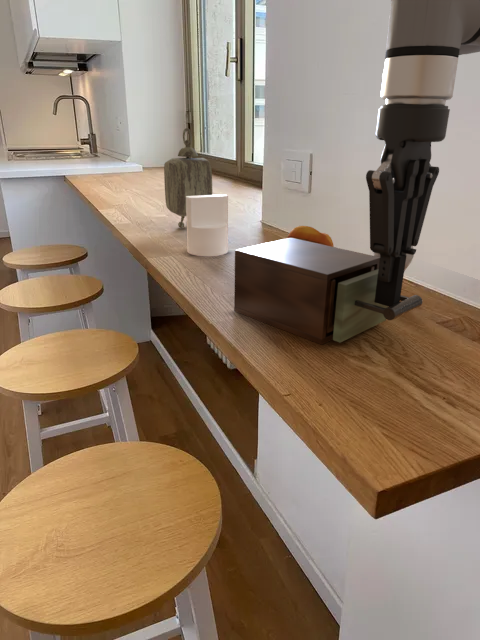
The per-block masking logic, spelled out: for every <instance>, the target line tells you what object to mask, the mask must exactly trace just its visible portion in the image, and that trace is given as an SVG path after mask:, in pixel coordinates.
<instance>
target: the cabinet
mask: <svg viewBox="0 0 480 640" xmlns="http://www.w3.org/2000/svg"><path fill="white" fill-rule="evenodd" d="M379 262H380V257H377V256H374V255H371V254H367V253H363V252H358V251H355V250H348V249H345V248H340V247H337V246H336V247H335V246H334V247H331V246H327V245H322V244H318V243H313V242H309V241H304V240H299V239H295V238H287V237H286V238H282V239H278V240H274V241H269V242H263V243H260V244H255V245H250V246H246V247H242V248H237V249H235V250H234V295H233V300H234V302H233V303H234V305H233V311H234V313H235V312H236V313H238V314H241V315H243V316H246V317H248V318H251V319H254V320H256V321H259V322H261V323H264V324H267V325H268V326H269V325H270V326H272V327H274V328H277V329H280V330H283V331H284V332H288V333H290V334H292V335H295V336H298V337H300V338H303V339H305V340H307V341H310V342H313V343H315V344H318V345H321V346H322V345H324V344H326V343H328V342H330V341H334V340H333V332H334V331H332V332H330V333H326V325H327V314H328V303H329V291H330V279H333V278H336V277H339V276H342V275H345V274H348V273H351V272H354V271H357V270H360V269H363V268H366V267H369V266H374V270H377V269H379Z"/></svg>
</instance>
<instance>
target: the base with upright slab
mask: <svg viewBox="0 0 480 640" xmlns="http://www.w3.org/2000/svg"><path fill="white" fill-rule="evenodd" d="M186 215H187V216H186V245H187V246H186V248H187V249H186V251H187V253H188V254H190V255H192V256H198V257H217V256H223V255H226V254H227V253H228V252H229V195H227V194H223V193H221V194H219V193H218V194H212V195H197V196H186Z"/></svg>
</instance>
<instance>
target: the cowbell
mask: <svg viewBox="0 0 480 640" xmlns="http://www.w3.org/2000/svg"><path fill="white" fill-rule="evenodd" d="M186 132H188V135H189V139H186V138H185V137H186ZM182 140H183V144H184V145H185V147H182V148H181V149H180V150H179V151H178V153H177V157H172V158H171V159H168V160H167V161H165V162H164V166H163V168H164V169H163V174H164V175H163V176H164V177H163V178H164V181H163V182H164V197H165V206H166V208H167V210H169V211H170V212H171V213H173V214H174V215H177V216H179V217H181V218H180V221H179V222H178V224H177V226H178V228H180V229H183V228H184V227H185V223H184V219H185V217H187V215H186V196H197V195H213V171H212V164H211V162H210V161H209V159H207V158H205V157H198V153H197V151H196V150H195V149H194V147H190V146H191V145H192V141H193V136H192V130H191V129H190V128H188V127H185V128H184V129H183V131H182Z"/></svg>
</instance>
